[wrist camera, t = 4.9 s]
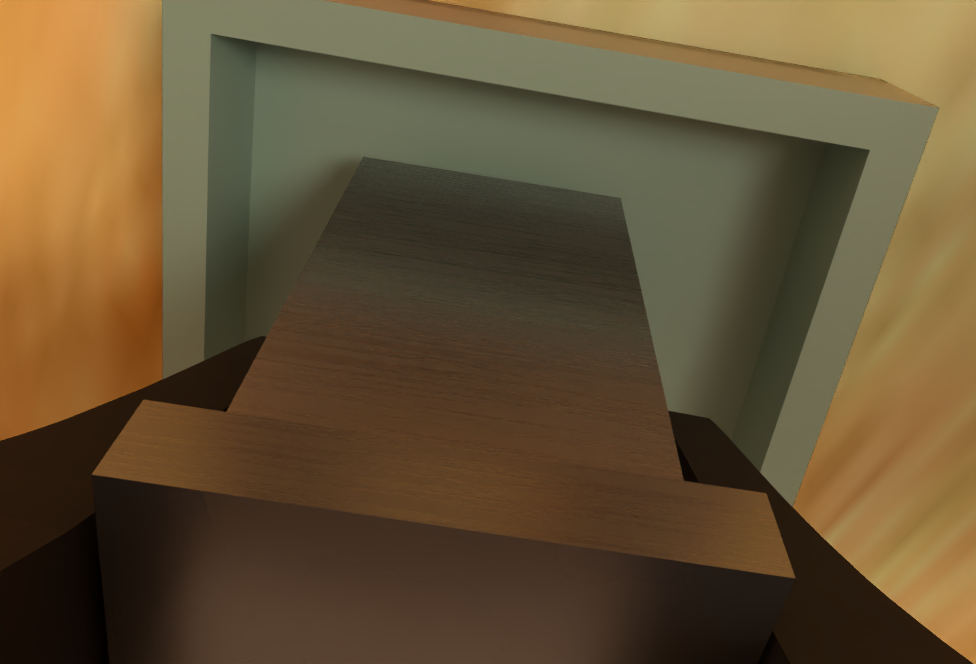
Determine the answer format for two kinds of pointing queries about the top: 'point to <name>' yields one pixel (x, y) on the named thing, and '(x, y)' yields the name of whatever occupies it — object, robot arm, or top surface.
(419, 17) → the tray
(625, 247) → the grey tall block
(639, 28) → the top surface
